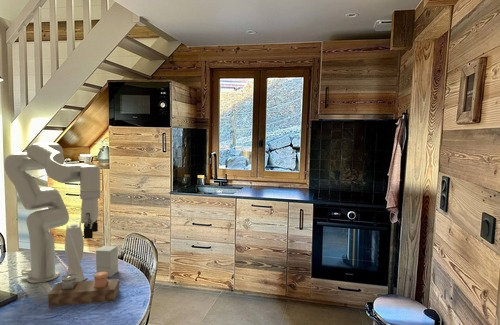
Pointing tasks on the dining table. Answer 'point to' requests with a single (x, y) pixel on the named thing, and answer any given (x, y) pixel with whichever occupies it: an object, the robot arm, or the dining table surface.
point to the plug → (69, 281)
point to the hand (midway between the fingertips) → (91, 234)
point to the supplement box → (107, 260)
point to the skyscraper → (74, 250)
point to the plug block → (83, 293)
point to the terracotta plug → (101, 279)
